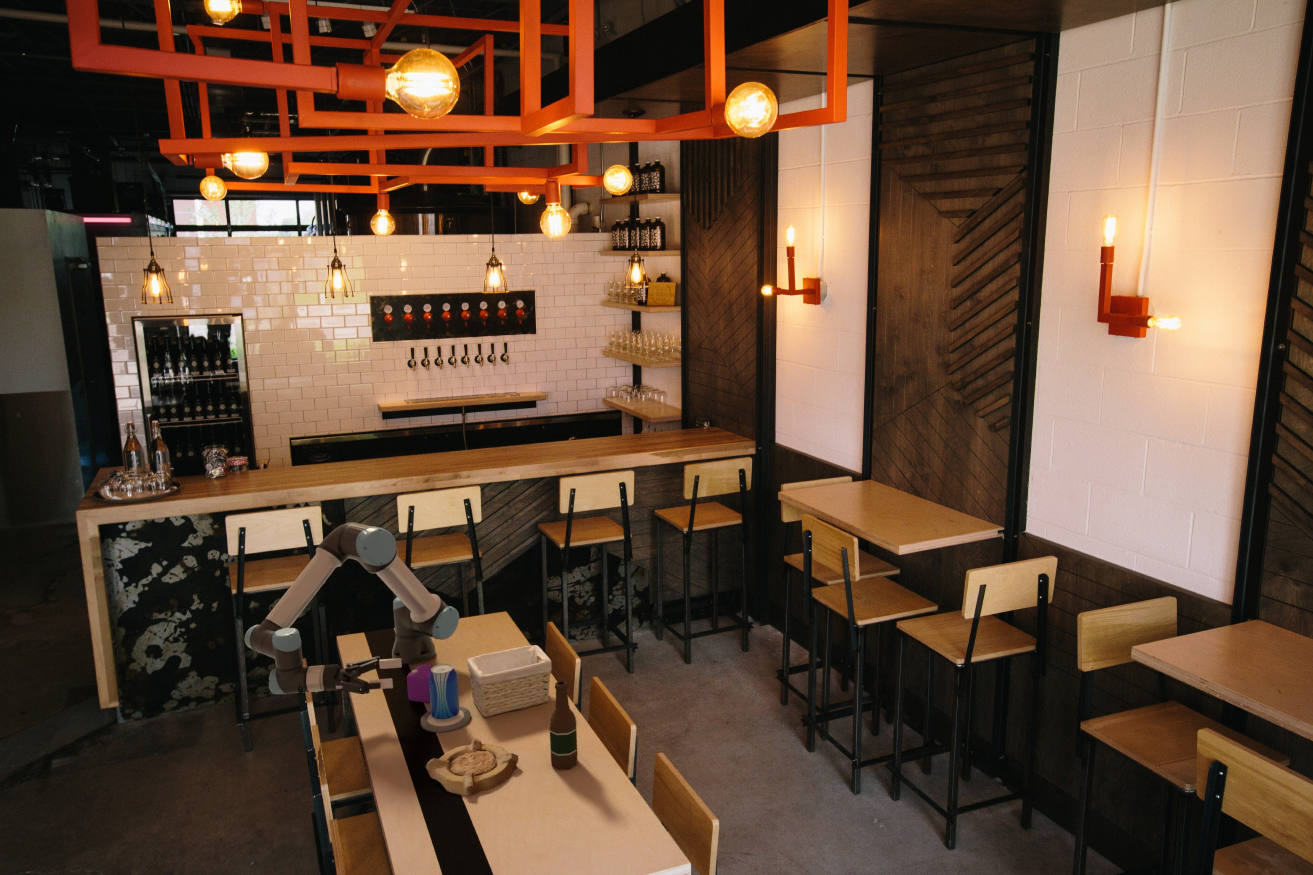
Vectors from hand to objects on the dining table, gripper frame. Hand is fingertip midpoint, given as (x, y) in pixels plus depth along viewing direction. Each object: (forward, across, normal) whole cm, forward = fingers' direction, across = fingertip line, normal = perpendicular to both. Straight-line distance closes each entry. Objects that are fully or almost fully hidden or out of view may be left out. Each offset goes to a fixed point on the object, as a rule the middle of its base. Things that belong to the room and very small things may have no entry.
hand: (397, 672), depth 264 cm
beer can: (+13, 0, -16) cm, 21 cm away
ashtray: (+25, +30, -17) cm, 43 cm away
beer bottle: (+50, +29, -17) cm, 60 cm away
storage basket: (+32, -10, -18) cm, 38 cm away
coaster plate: (+13, 0, -17) cm, 21 cm away
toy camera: (+5, -18, -17) cm, 26 cm away
